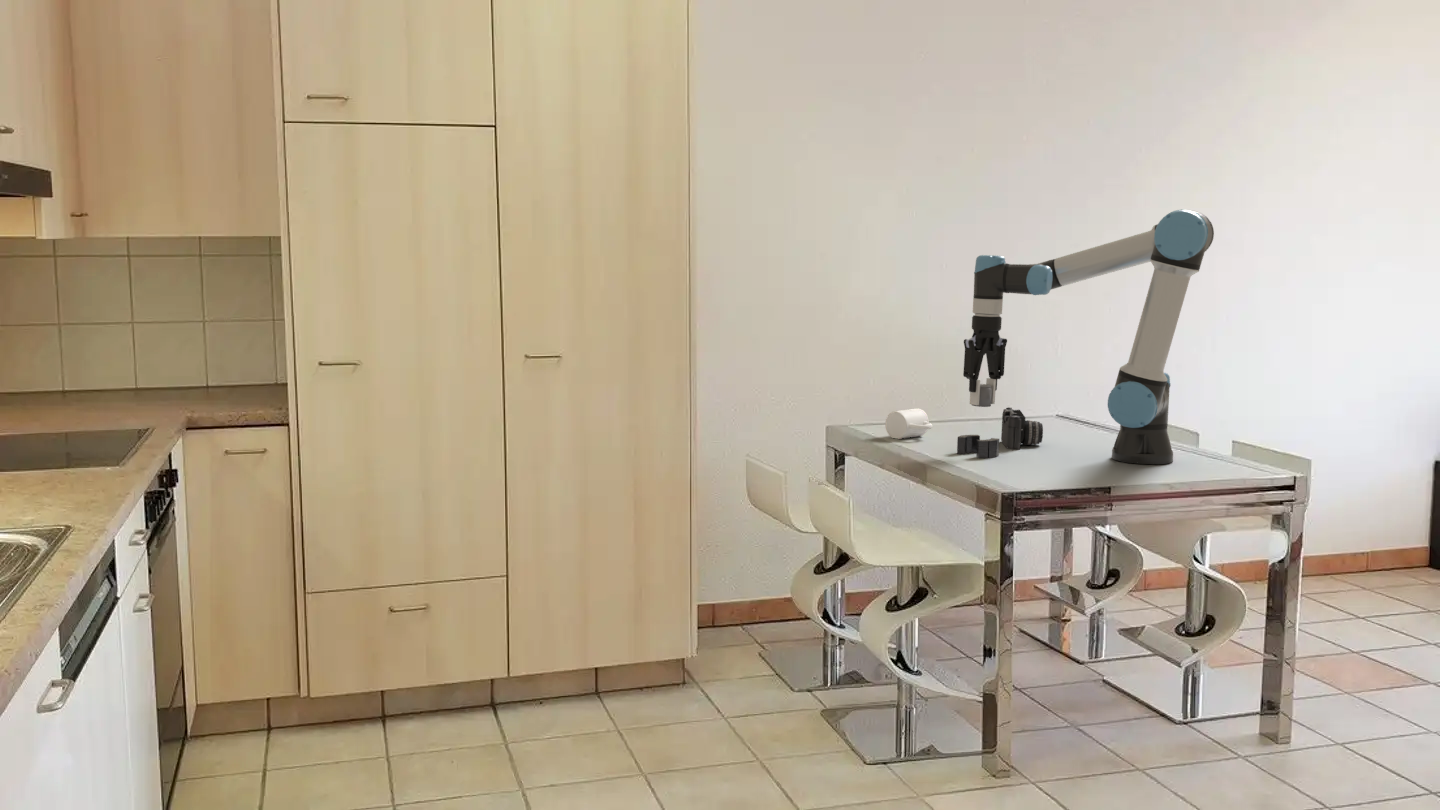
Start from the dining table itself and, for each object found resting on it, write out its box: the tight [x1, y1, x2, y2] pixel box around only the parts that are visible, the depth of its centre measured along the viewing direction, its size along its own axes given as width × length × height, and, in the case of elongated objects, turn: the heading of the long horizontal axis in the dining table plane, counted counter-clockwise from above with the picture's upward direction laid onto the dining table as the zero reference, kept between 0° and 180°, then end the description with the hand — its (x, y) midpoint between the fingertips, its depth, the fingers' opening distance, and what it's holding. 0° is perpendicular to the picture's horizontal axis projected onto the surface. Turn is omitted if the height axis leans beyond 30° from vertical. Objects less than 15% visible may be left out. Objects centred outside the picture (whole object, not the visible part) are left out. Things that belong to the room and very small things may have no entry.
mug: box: [884, 408, 933, 440], centre depth 375 cm, size 12×10×8 cm
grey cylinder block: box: [970, 383, 992, 408], centre depth 347 cm, size 5×5×5 cm
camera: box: [1000, 407, 1044, 451], centre depth 364 cm, size 14×11×10 cm
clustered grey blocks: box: [956, 434, 1000, 459], centre depth 349 cm, size 11×7×4 cm
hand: (982, 403), depth 347 cm, fingers closed on grey cylinder block, 5 cm apart
